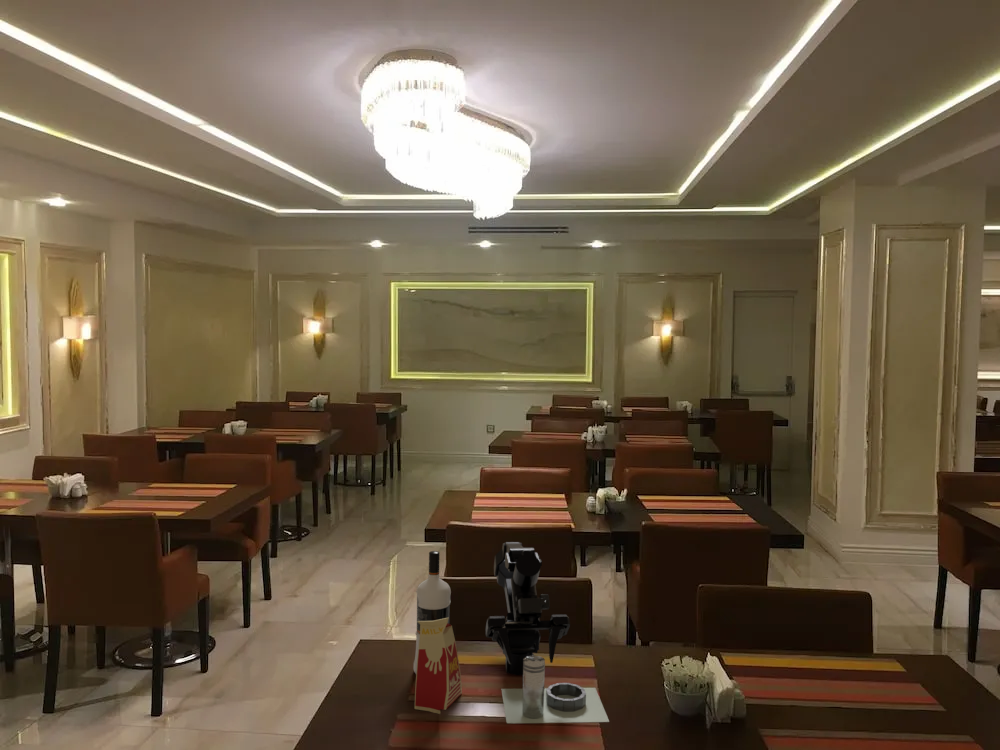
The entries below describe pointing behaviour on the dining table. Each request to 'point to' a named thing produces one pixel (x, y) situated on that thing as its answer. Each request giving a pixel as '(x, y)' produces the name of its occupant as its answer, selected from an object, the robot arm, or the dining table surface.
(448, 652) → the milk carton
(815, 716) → the dining table surface
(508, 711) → the plate
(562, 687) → the ring collar
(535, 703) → the silver upright cylinder
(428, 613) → the vodka
